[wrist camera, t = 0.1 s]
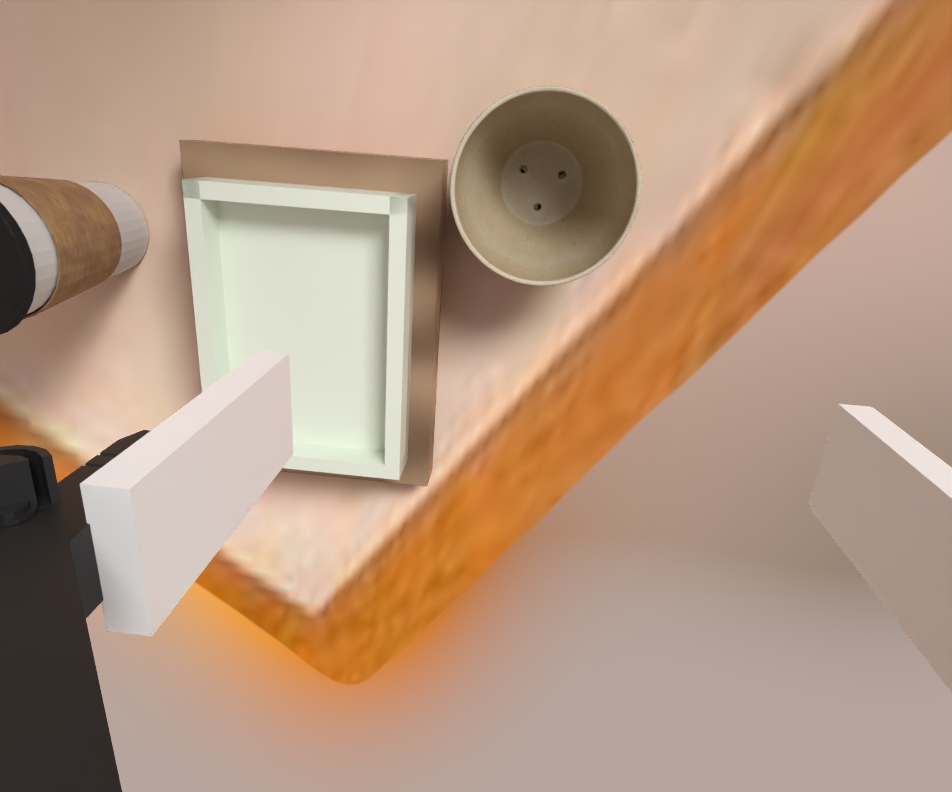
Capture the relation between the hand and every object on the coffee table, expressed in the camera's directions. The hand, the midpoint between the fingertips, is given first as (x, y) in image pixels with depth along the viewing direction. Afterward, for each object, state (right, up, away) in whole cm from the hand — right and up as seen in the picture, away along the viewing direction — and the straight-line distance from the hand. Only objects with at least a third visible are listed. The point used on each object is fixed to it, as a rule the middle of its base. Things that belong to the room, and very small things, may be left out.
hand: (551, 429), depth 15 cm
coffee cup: (-27, +12, +28) cm, 41 cm away
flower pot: (+2, +14, +25) cm, 29 cm away
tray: (-13, +5, +26) cm, 30 cm away
